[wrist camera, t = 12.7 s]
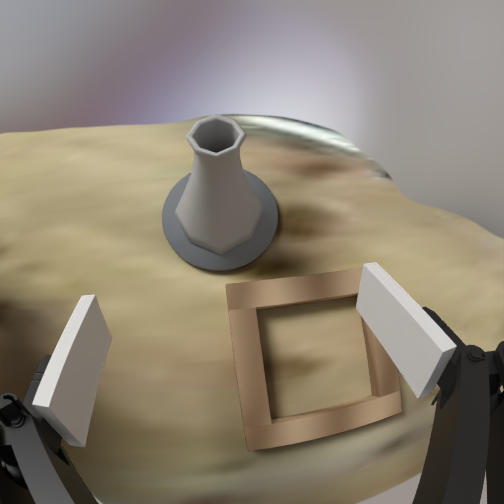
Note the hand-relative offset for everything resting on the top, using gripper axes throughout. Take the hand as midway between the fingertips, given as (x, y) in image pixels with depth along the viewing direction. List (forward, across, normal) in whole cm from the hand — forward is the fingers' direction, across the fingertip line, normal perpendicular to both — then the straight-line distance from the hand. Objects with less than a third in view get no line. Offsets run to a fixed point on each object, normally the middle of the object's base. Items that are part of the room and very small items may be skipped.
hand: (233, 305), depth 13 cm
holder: (+4, +6, -9) cm, 12 cm away
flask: (+13, 0, 0) cm, 13 cm away
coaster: (+13, 0, 0) cm, 13 cm away
